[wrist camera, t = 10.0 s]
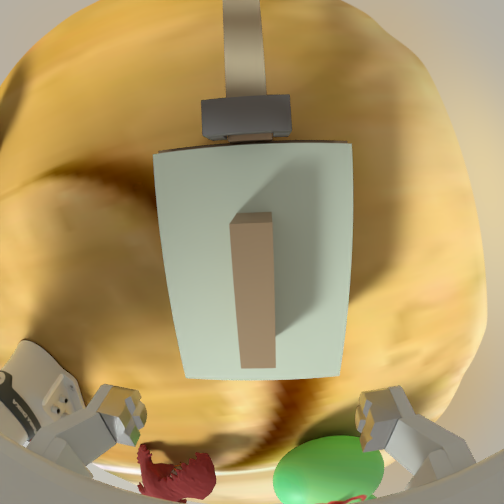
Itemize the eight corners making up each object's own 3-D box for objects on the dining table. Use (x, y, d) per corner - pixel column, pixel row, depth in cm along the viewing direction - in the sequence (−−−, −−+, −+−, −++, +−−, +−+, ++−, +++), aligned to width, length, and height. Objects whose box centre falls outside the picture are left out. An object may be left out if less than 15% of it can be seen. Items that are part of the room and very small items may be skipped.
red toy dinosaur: (140, 457, 52) (167, 509, 43) (107, 461, 45) (134, 517, 36) (202, 413, 45) (242, 483, 36) (160, 419, 38) (202, 501, 29)
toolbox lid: (335, 361, 26) (348, 406, 20) (191, 364, 26) (174, 407, 21) (343, 145, 20) (371, 138, 14) (163, 155, 21) (128, 152, 15)
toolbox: (322, 323, 33) (345, 401, 20) (206, 326, 34) (178, 403, 21) (322, 125, 27) (363, 95, 14) (188, 132, 28) (132, 110, 15)
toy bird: (375, 407, 37) (400, 479, 23) (371, 456, 42) (386, 514, 28) (264, 430, 40) (261, 506, 25) (282, 474, 44) (283, 534, 30)
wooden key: (267, 118, 18) (267, 103, 13) (230, 120, 18) (219, 106, 14) (256, -25, 14) (254, -57, 10) (224, -22, 14) (216, -54, 10)
